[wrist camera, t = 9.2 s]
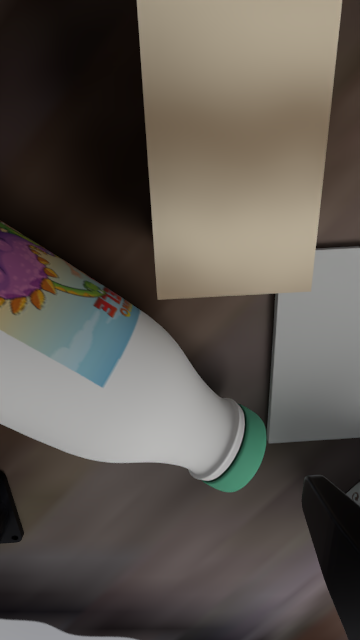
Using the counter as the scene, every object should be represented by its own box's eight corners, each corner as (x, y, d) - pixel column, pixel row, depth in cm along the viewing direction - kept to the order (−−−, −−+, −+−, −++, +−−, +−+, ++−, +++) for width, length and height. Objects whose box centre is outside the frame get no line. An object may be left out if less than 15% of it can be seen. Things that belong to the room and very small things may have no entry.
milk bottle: (-109, 306, 18) (190, 460, 23) (-274, 354, 11) (219, 567, 16) (-40, 182, 17) (256, 371, 22) (-170, 140, 10) (319, 438, 15)
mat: (394, 430, 24) (398, 434, 23) (266, 438, 23) (268, 443, 23) (438, 241, 19) (445, 243, 18) (278, 250, 19) (280, 252, 18)
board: (293, 278, 15) (310, 291, 13) (158, 285, 15) (157, 299, 13) (317, -12, 11) (347, -51, 9) (138, -6, 11) (133, -45, 9)
